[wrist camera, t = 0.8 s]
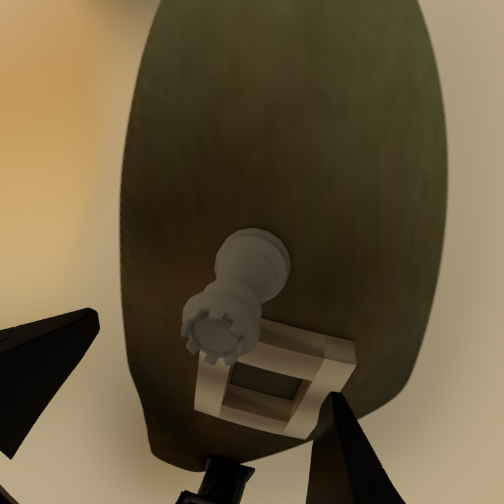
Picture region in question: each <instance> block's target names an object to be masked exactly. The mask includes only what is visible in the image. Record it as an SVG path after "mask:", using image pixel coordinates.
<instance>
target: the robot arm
mask: <svg viewBox="0 0 504 504" xmlns="http://www.w3.org/2000/svg"><path fill="white" fill-rule="evenodd" d="M99 330H100V324H99V318H98V313H97V311H95V310H93V309H91V308H84V309H81V310H77V311H73V312H69V313H65V314H62V315H58V316H54V317H50V318H46V319H42V320H39V321H35V322H31V323H27V324H24V325H19V326H16V327H11V328H8V329H3V330H0V451H1V452H2V453H4V454H5V455H6V456H7V457H8V458H9V459H10V460H11V459H12V458H13V456H14V455H15V453H16V451H17V450H18V448H19V447H20V445H21V444H22V442H23V440H24V439H25V437H26V436H27V434H28V433H29V431H30V430H31V428H32V427H33V425H34V424H35V422H36V421H37V419H38V418H39V416H40V414H41V413H42V412H43V410H44V409H45V408H46V406H47V405H48V404H49V402H50V401H51V399H52V398H53V397H54V395H55V394H56V392H57V391H58V390H59V388H60V387H61V386H62V384H63V383H64V382H65V380H66V379H67V378H68V376H69V375H70V374H71V372H72V371H73V370H74V369H75V367H76V366H77V365H78V363H79V362H80V361H81V359H82V358H83V356H84V355H85V353H86V352H87V350H88V348H89V347H90V345H91V344H92V342H93V340H94V339H95V337H96V335H97V334H98V333H99ZM205 471H206V473H205V476H204V478H203V481H202V483H201V486H200V488H199V490H198V493H197V494H195V493H192V492H189V491H187V490H185V491H184V492H183V491H182V492H181V494H180V496H179V498H178V500H177V502H176V503H175V504H240V501H241V498H242V495H243V491H244V488H245V484H246V482H248V480H249V479H250V477H251V476H252V475H253V473H254V472H255V468H252V467H248V466H244V465H240V464H237V463H233V462H230V461H226V460H223V459H219V458H216V457H213V456H208V458H207V461H206V466H205ZM0 504H19V503H18V502H17V501H16V500H15V499H14V498H13V497H12V496H10V494H9V493H8V492H7V491H6V490H5V489H4V488H3V487H2V486H1V485H0ZM306 504H406V503H405V502H404V501H403V499H402V498H401V496H400V495H399V493H398V492H397V490H396V489H395V487H394V486H393V484H392V482H391V481H390V479H389V477H388V476H387V474H386V472H385V470H384V469H383V468H382V465H381V463H380V461H379V459H378V457H377V455H376V454H375V452H374V450H373V448H372V446H371V444H370V443H369V441H368V439H367V437H366V435H365V434H364V432H363V430H362V428H361V427H360V424H359V423H358V421H357V419H356V417H355V415H354V414H353V412H352V410H351V408H350V406H349V405H348V403H347V401H346V399H345V397H344V396H343V394H342V393H340V392H335V391H330V392H329V394H328V395H327V397H326V398H325V400H324V401H323V403H322V405H321V407H320V411H319V416H318V421H317V426H316V431H315V436H314V440H313V445H312V454H311V464H310V473H309V482H308V490H307V497H306Z"/></svg>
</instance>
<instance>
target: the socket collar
mask: <svg viewBox="0 0 504 504" xmlns="http://www.w3.org/2000/svg"><path fill="white" fill-rule="evenodd" d="M258 323H259V327H260V331H261V333H260V337H259V340H258V344H257V345H256V346H255V347H254V348H253V349H252V350H251V351H250V352H249V353H247V354H244V355H243V356H242V355H241V356H239V357H238V360H237V361H238V362H241V363H245V364H248V365H251V366H255V367H258V368H262V369H266V370H269V371H273V372H277V373H281V374H285V375H289V376H293V377H297V378H301V379H303V381H302V383H301V385H300V387H299V389H298V391H297V393H296V395H295V396H294V398H293V400H288V399H284V398H280V397H276V396H272V395H268V394H264V393H260V392H257V391H253V390H250V389H246V388H243V387H239V386H236V385H233V384H230V380H231V376H232V372H233V368H234V364H235V363H234V364H231V365H228V366H226V364H225V363H224V361H223V360H224V358H218V360H217V362H216V364H215V365H212V364H209V363H206V362H203V361H204V359H205V357H206V355H207V354H205V353H204V352H202V351H201V350H200V356H199V365H198V375H197V384H196V394H195V405H194V409H195V410H197V411H200V412H203V413H206V414H209V415H212V416H215V417H218V418H221V419H224V420H227V421H230V422H234V423H237V424H241V425H244V426H248V427H252V428H255V429H259V430H263V431H267V432H272V433H276V434H281V435H285V436H290V437H295V438H301V439H306V438H307V437H308V435H309V434H310V433H311V432H312V430H313V429H314V428H315V426H316V425H317V421H318V416H319V411H320V407H321V405H322V403H323V401H324V400H325V398H326V397H327V395H328V394H329V392H330V391H335V392H340V391H341V389H342V388H343V386H344V385H345V383H346V382H347V380H348V378H349V377H350V375H351V374H352V372H353V370H354V369H355V367H356V357H355V349H354V342H353V341H349V340H345V339H341V338H336V337H332V336H328V335H324V334H320V333H316V332H312V331H308V330H304V329H300V328H296V327H292V326H288V325H285V324H281V323H277V322H274V321H270V320H266V319H263V318H260V321H259V322H258Z"/></svg>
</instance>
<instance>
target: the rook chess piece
mask: <svg viewBox="0 0 504 504" xmlns="http://www.w3.org/2000/svg"><path fill="white" fill-rule="evenodd" d="M290 269H291V263H290V257H289V252H288V251H287V249H286V248H285V246H284V244H283V243H282V241H281V240H280V239H278V238H277V237H275V236H274V235H273V234H271V233H270V232H268V231H265V230H260V229H256V228H249V229H242V230H238V231H237V232H235V233H234V234H232V235H230V236H229V237H227V239H226V240H225V242H224V243H223V245H222V247H221V248H220V250H219V251H218V253H217V256H216V262H215V273H216V280H215V281H214V282H212V283H210V284H209V285H207V286H206V288H205V289H204V291H203V292H200V293H199V294H197V295H195V296H193V297H191V298H190V299H189V300H188V302H187V303H186V305H185V307H184V308H183V323H184V324H183V325H182V328H181V336H184V337H189V341H188V343H187V344H186V347H187V349H188V350H189V351H190V352H191V353H192V354H193V355H194V354H195V353H196V352H197V351H198V350H201V351H202V352H204V353H205V354H207V355H206V357H205V359H204V361H203V362H206V363H209V364H212V365H215V364H216V362H217V360H218V358H224V360H223V361H224V363H225V364H226V366H228V365H231V364H234V363H236V362H237V360H238V357H239V356H241V355H242V356H243V355H244V354H247V353H249V352H250V351H251V350H252V349H253V348H254V347H255V346H256V345H257V344H258V340H259V337H260V333H261V331H260V327H259V323H258V322H259V321H260V317H261V313H262V309H261V304H262V303H264V302H266V301H268V300H270V299H272V298H274V297H275V296H276V295H277V294H278V293H279V292H280V291H281V290H282V288H283V287H284V286H285V284H286V281H287V279H288V276H289V272H290Z"/></svg>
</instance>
